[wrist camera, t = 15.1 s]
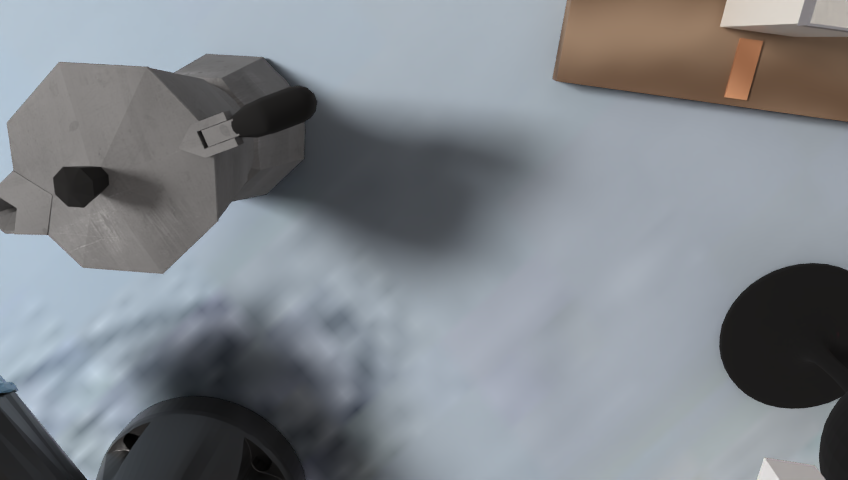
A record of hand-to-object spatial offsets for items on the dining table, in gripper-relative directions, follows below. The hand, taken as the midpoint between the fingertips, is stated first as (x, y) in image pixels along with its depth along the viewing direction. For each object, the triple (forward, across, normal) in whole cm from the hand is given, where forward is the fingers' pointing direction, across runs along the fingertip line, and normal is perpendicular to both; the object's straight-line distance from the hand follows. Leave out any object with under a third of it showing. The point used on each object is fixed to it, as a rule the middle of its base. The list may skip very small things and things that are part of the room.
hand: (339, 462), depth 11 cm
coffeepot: (+32, +12, 0) cm, 34 cm away
